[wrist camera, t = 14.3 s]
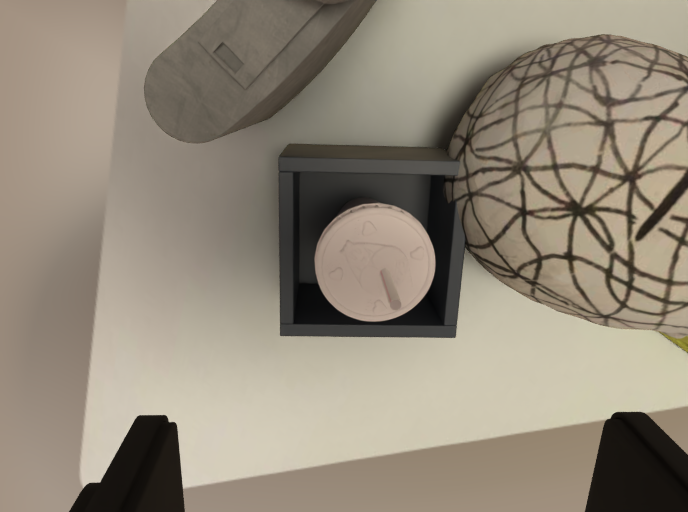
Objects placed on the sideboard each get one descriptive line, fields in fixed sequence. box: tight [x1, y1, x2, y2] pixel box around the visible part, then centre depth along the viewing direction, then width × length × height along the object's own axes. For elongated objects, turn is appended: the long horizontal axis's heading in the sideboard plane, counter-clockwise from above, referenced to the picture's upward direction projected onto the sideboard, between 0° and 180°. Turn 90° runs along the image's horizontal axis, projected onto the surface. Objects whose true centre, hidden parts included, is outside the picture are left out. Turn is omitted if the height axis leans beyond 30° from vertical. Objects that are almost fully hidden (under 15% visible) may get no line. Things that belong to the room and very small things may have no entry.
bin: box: [279, 144, 466, 338], centre depth 33 cm, size 11×11×8 cm
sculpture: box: [443, 34, 688, 339], centre depth 29 cm, size 15×20×15 cm
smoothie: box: [314, 197, 435, 322], centre depth 29 cm, size 6×6×14 cm
